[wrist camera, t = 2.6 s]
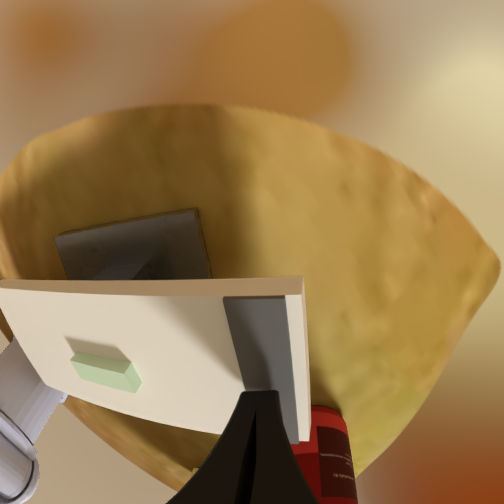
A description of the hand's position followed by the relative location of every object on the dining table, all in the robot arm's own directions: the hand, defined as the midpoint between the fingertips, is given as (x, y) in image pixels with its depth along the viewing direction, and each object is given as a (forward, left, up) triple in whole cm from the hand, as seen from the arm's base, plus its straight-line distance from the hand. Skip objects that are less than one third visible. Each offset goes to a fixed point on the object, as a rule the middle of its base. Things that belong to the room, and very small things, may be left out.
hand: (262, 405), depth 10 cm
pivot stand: (-6, +5, -8) cm, 11 cm away
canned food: (-8, -12, -8) cm, 16 cm away
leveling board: (-6, +5, -3) cm, 9 cm away
